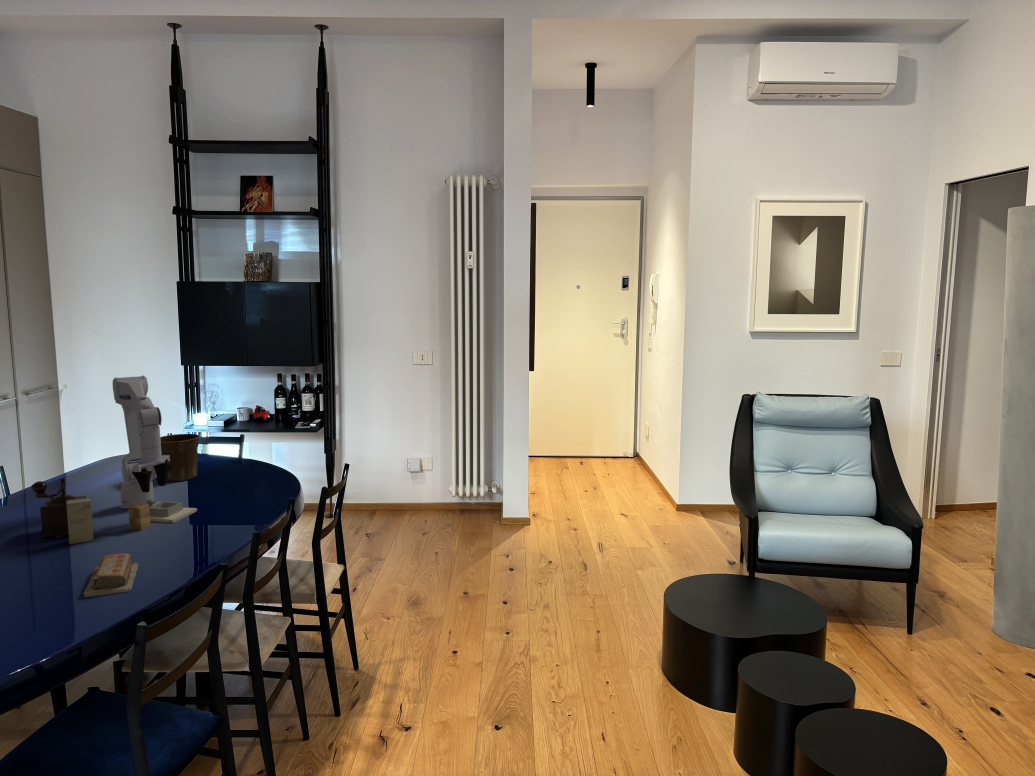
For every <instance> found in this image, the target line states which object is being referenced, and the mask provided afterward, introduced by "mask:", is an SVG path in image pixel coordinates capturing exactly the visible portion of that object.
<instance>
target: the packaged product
mask: <svg viewBox="0 0 1035 776" xmlns="http://www.w3.org/2000/svg"><path fill="white" fill-rule="evenodd" d="M131 562H132V555H131V554H130V553H126V552H122V553H114V554H107V555H103V557H102V559H101V560H100V563H99V565H98V566H96V567H95V569H94V571H93V573H92V575H91V577H90V579H89V581H88V583H87V585H86V587H85V589H84V592H83V596H84V598H91V597H98V596H106V595H113V594H120V593H127V592H131V590H132V587H133V583H134V580H135V578H136V576H137V571H138V566H139V562H132V563H131Z"/></svg>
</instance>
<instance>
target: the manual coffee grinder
mask: <svg viewBox="0 0 1035 776" xmlns="http://www.w3.org/2000/svg"><path fill="white" fill-rule="evenodd" d="M59 482H60V483H59V488H58V490H57V492H55V493H52V494H47V493H46V490H47V488H48V484H47V483H46V482H45V481H41V480H39V481H36V482H34V483H33V484H31V486H30V487H31V490H32V492H34V493H35V496H34V497H35V498H36V499H43V498H44V499H47V500H45V501H44V504H43V505H42V506H41V507H40V508H39V510H40V511H39V512H40V521H41V531H42V532H41V533H42V538H43V537H53V538H58V537H57V536H64V537H69V536H68V535H69V534H68V519H67V504H66V501H67V500H74V499H82V498H88V497H87V495H80V496H79V495H78V496H74V495H70V494H66V490H65V486H66V479H65V478H64V477H61V478H60V479H59Z"/></svg>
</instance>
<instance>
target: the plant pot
mask: <svg viewBox="0 0 1035 776" xmlns="http://www.w3.org/2000/svg"><path fill="white" fill-rule="evenodd" d="M200 437H201V435H199V434H196V433H176V434H167V435H164V436H163V435H162V436H160V440H161V453H162V456H163V455H170V461H169V462H171V463H172V466H171V468H170V470H169V472H168V475H167V480H166V482H171V481H172V482H184V481H187V480H191V479H194V478H197V476H198V449H199V448H198V447H199V443H200V442H199V440H200Z"/></svg>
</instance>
